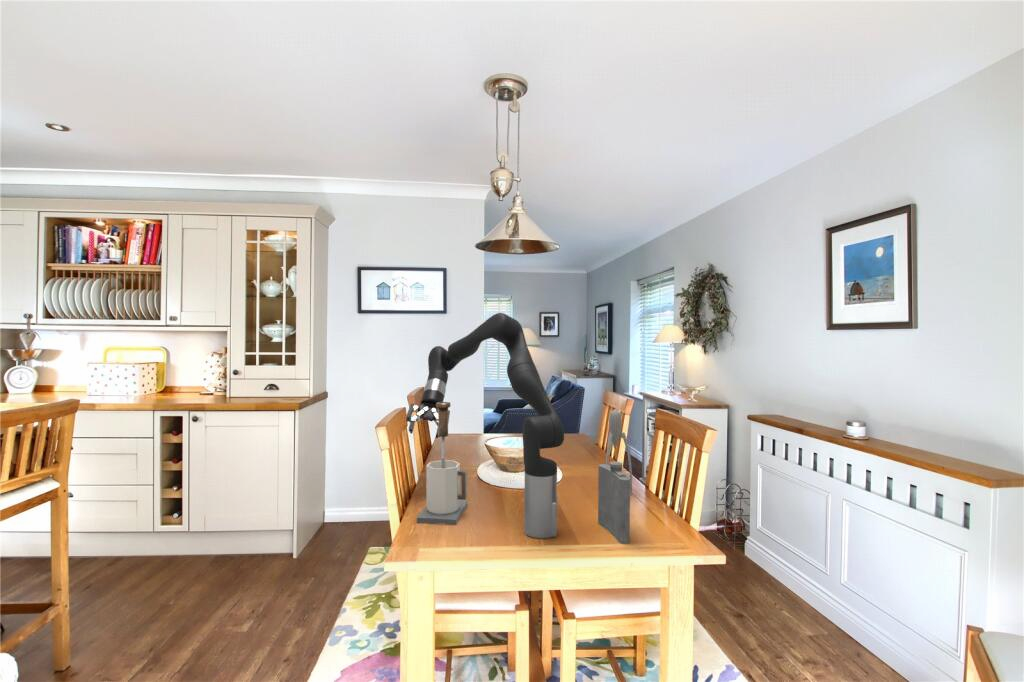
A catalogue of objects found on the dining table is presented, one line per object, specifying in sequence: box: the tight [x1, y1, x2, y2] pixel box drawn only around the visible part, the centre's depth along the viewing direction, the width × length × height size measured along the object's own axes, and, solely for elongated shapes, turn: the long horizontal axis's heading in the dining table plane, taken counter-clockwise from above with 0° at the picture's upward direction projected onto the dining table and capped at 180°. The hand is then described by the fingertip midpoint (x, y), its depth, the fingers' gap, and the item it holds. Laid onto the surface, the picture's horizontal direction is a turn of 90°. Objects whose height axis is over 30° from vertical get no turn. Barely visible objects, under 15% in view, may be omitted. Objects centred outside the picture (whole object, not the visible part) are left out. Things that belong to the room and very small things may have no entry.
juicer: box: [605, 408, 633, 497], centre depth 175 cm, size 10×9×30 cm
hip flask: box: [597, 461, 631, 545], centre depth 144 cm, size 16×4×20 cm, turn 15°
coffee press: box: [416, 459, 468, 525], centre depth 157 cm, size 13×16×16 cm
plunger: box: [436, 401, 451, 469], centre depth 156 cm, size 8×8×23 cm
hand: (424, 434), depth 167 cm, fingers open, 8 cm apart
